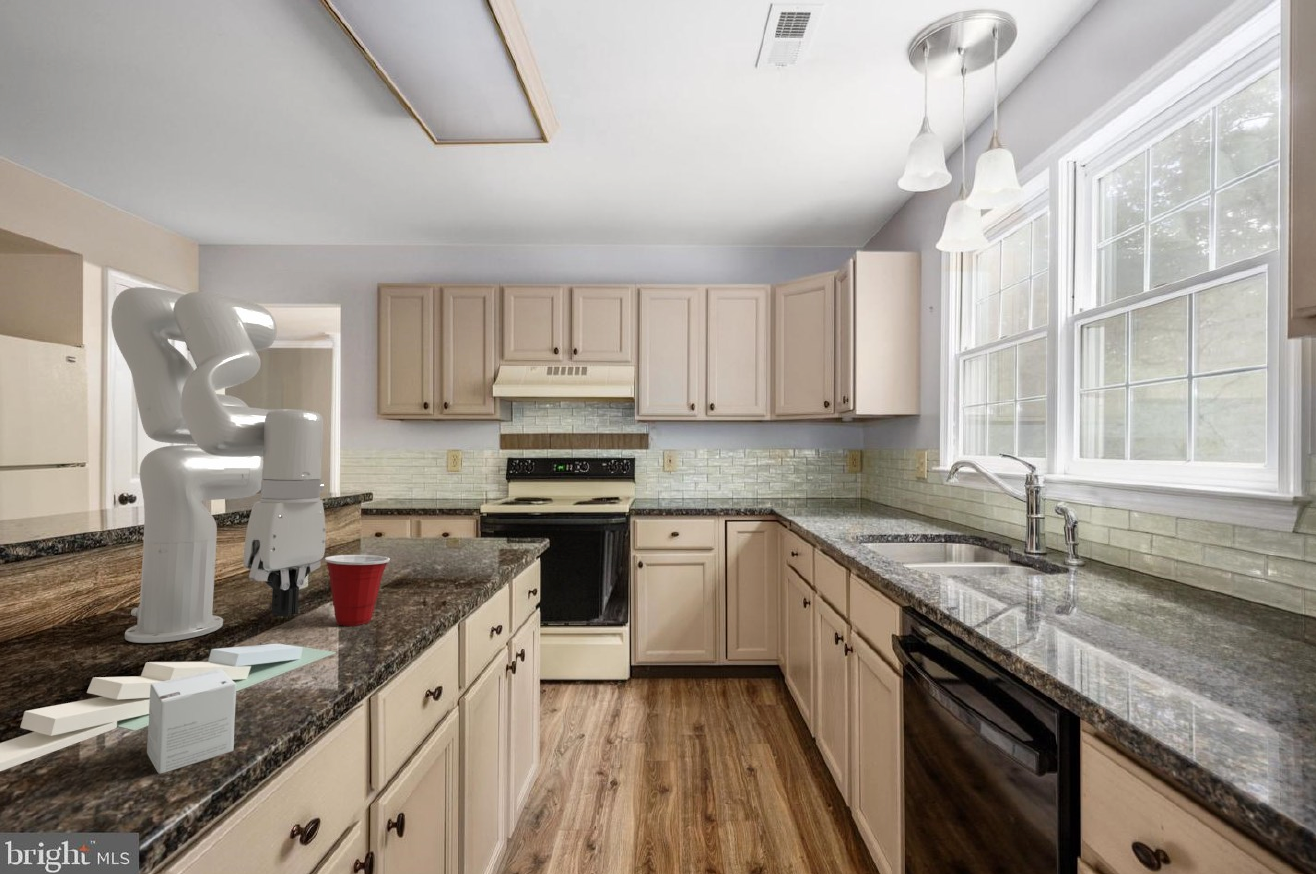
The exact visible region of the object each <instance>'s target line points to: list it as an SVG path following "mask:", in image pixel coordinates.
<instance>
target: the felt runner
mask: <svg viewBox="0 0 1316 874" xmlns="http://www.w3.org/2000/svg"><path fill="white" fill-rule="evenodd" d="M286 645H290V646H296V647H302V648H303V650H302V654H301V659H296V660H287V661H279V662H270V663H262V664H254V665H246V666H251V668H250V671H249V674H248V677H247V679H237V680H233V681H234V682H235V683H236V692H239V691H241V690H244V689H246V688H249V687H252V686H254V685H257V684H259V683H262V682H264V681H267V680H270V679H272V678H275V677H277V676H280V675H282V674H285V673H288V672H291V671H293V670H296V669H299V668H301V667H303V666H305V665H308V664H312V663H313V662H316V661H319V660H321V659H324V658H327V657H329V656H331V655H335V654H337V652H336V651H330V650H325V649H318V648H311V647H307V646H306V647H305V646H301V645H300V646H299V645H293V644H286ZM148 724H149V714H146V715H141V716H137V717H133V718H128V719H124V720H119V721H117V727H118V728H122V729H124V730H125V729H126V730H130V731H133V732H134V731H135V732H136V731H138V730H140V729H143V728H146V727H148Z"/></svg>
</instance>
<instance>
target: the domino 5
mask: <svg viewBox="0 0 1316 874" xmlns="http://www.w3.org/2000/svg"><path fill="white" fill-rule="evenodd" d="M290 645H291V644H288V645H287V644H282V643H268V644H258V645H244V646H234V647H233V646H231V647H221V648H211V650H210V654H209V657H208V660H207V662H213V663H218V664H224V665H229V666H234V667H237V666H245V665H254V664H262V663H270V662H279V661H287V660H296V659H301V654H302V650H303V648H302V647H303V646H301V647H296V646H297V645H295V646H290Z"/></svg>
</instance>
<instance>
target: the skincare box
mask: <svg viewBox="0 0 1316 874" xmlns="http://www.w3.org/2000/svg"><path fill="white" fill-rule="evenodd" d="M236 699H237V691H236V683H235V682H234V681H233V680H231V679H230V678H229V677H228V676H227V675H226V674H225V673H224V671H223V670H222V669H216V670H212V671H208V672H203V673H199V674H194V675H190V676H185V677H181V678H177V679H172V680H167V681H163V682H158V683H153V684H151V687H150V703H149V724H148V726H147V727H148V728H147V746H146V754H147V756H148V758H149V760H150V762H151V763H152V765H153V766H154V768H155V770H156V772H157V773H158V774H159V775H160V774H163V773H167V772H171V771H173V770H176V769H177V770H178V769H180V768H184V767H186V766H190V765H192V764H197V763H199V762H203V761H206V760H209V759H212V758H215V757H218V756H221V755H224V754H227V753H230V752H233V751H234V750H235V749H234V746H235V745H234V744H235V719H236V718H235V717H236V716H235V715H236V702H237V701H236Z"/></svg>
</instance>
